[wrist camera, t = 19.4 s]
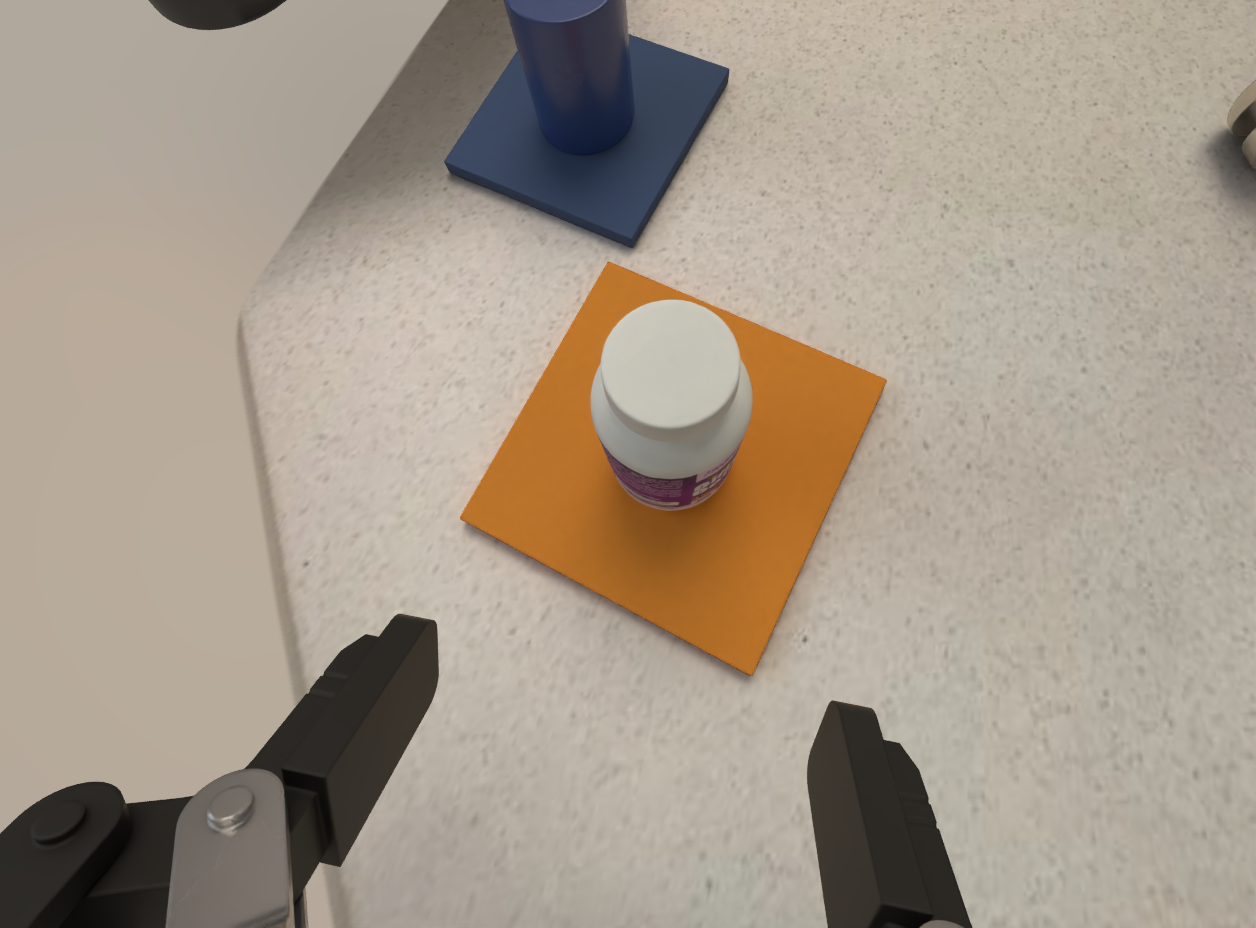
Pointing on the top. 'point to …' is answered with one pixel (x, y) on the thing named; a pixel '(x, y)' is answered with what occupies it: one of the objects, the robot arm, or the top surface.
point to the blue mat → (602, 182)
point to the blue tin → (576, 70)
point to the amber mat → (694, 537)
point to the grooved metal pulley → (1245, 121)
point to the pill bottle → (671, 403)
